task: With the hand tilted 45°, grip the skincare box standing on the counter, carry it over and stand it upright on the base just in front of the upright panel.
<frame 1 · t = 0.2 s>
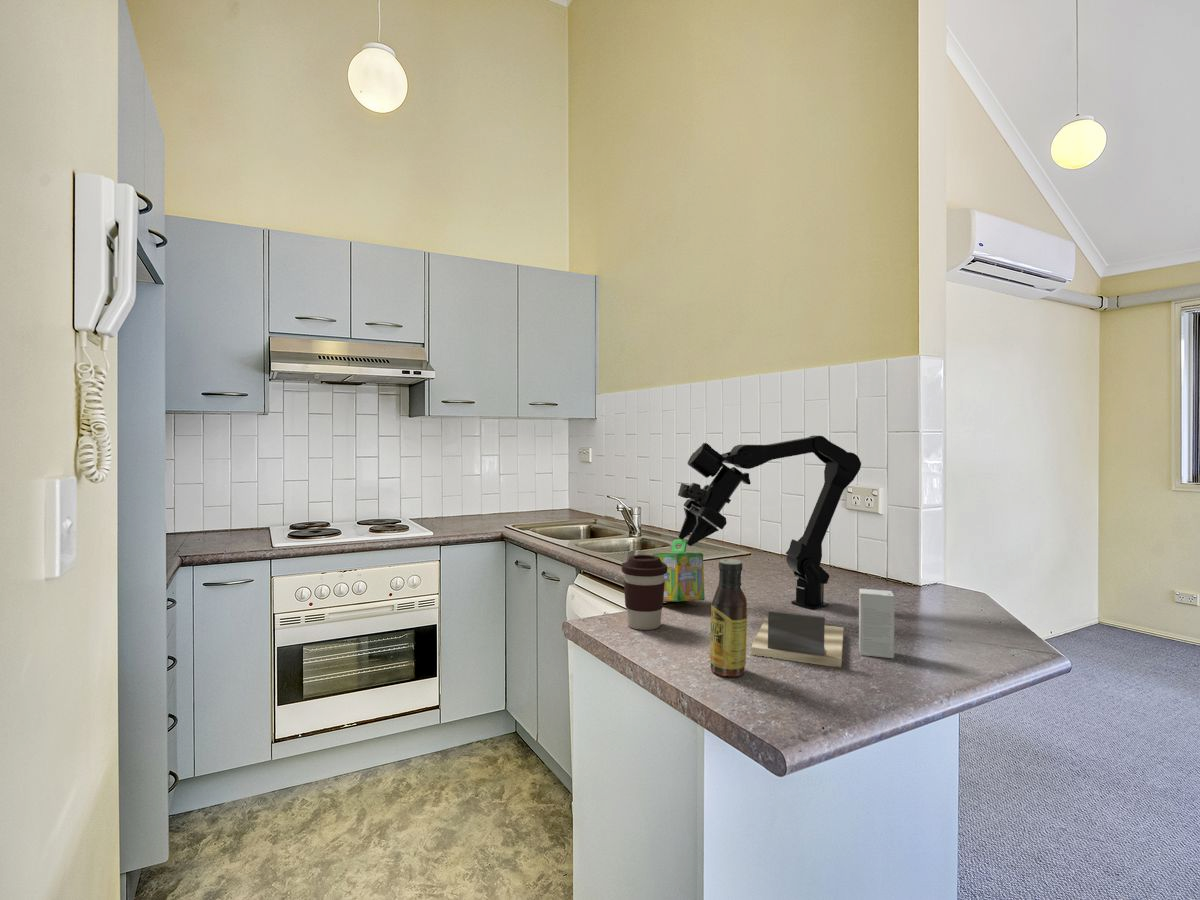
hand: (684, 541, 149), 16 cm above the worktop, tool tilted 35°, fingers open, 8 cm apart
chalk box: (679, 601, 150), point 1 cm above the worktop, touching gripper
sauce bottle: (727, 673, 108), on the worktop
coffee cup: (643, 626, 135), on the worktop
skincare box: (875, 654, 118), on the worktop
base with upright panel: (798, 647, 121), on the worktop
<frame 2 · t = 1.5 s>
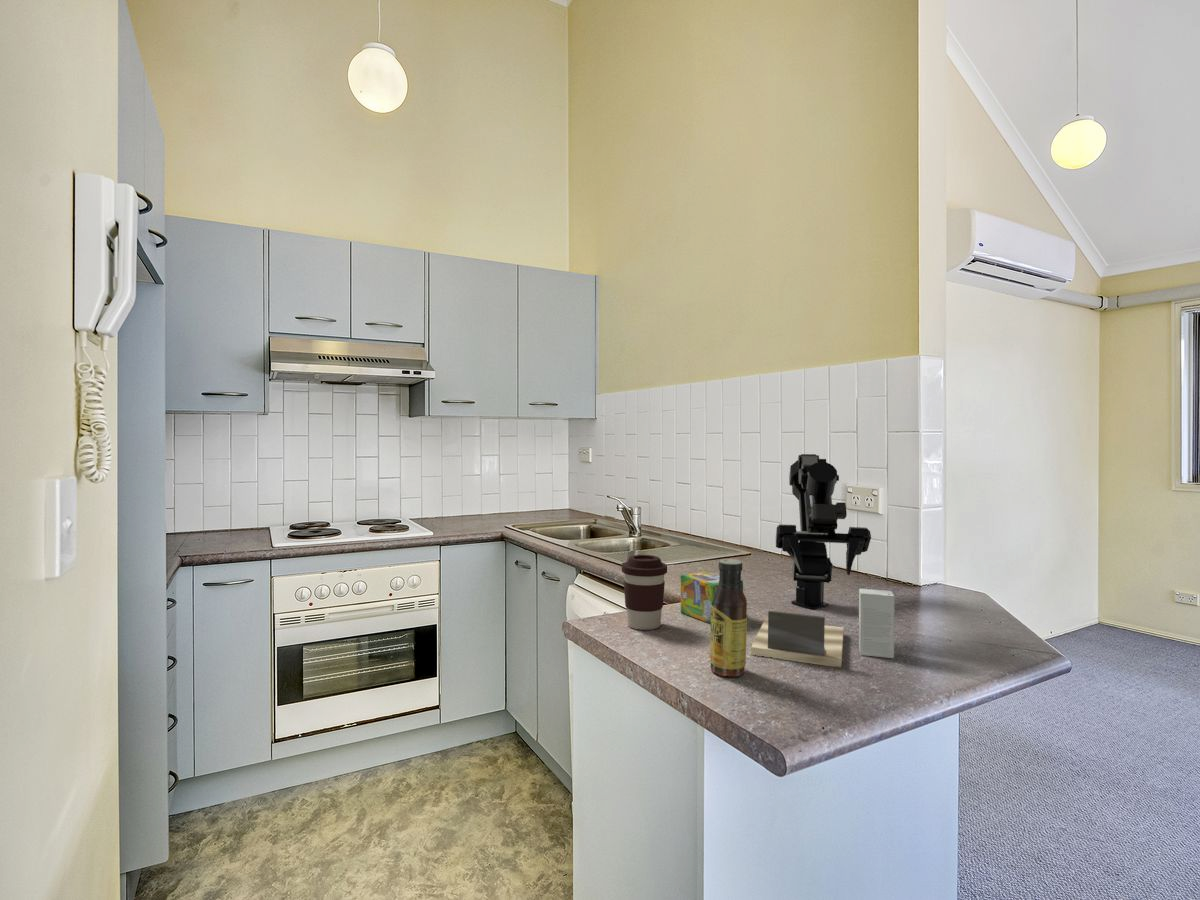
hand: (824, 572, 126), 14 cm above the worktop, tool tilted 45°, fingers open, 9 cm apart
chalk box: (693, 591, 147), point 4 cm above the worktop
everything else where it was.
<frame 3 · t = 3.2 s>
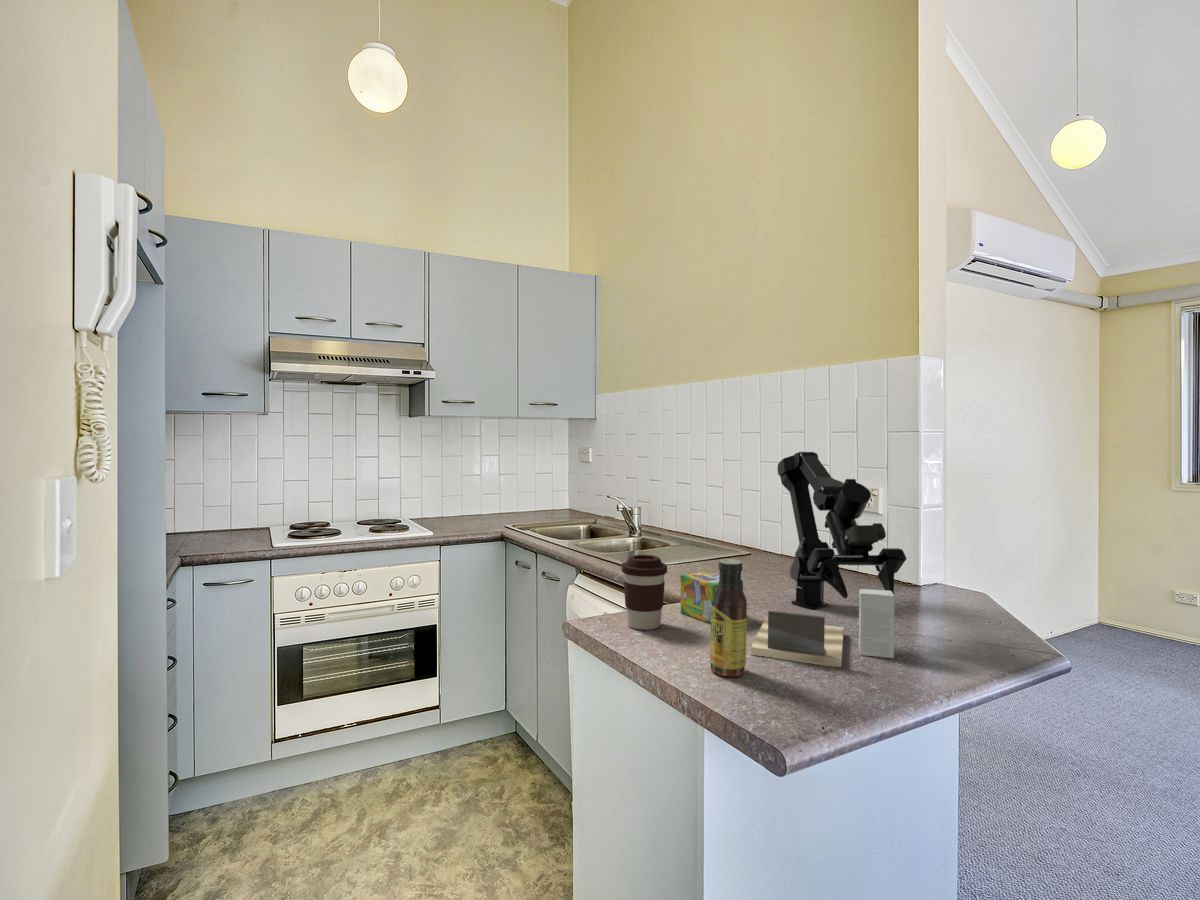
hand: (869, 597, 121), 10 cm above the worktop, tool tilted 45°, fingers open, 9 cm apart
nothing on the worktop moved.
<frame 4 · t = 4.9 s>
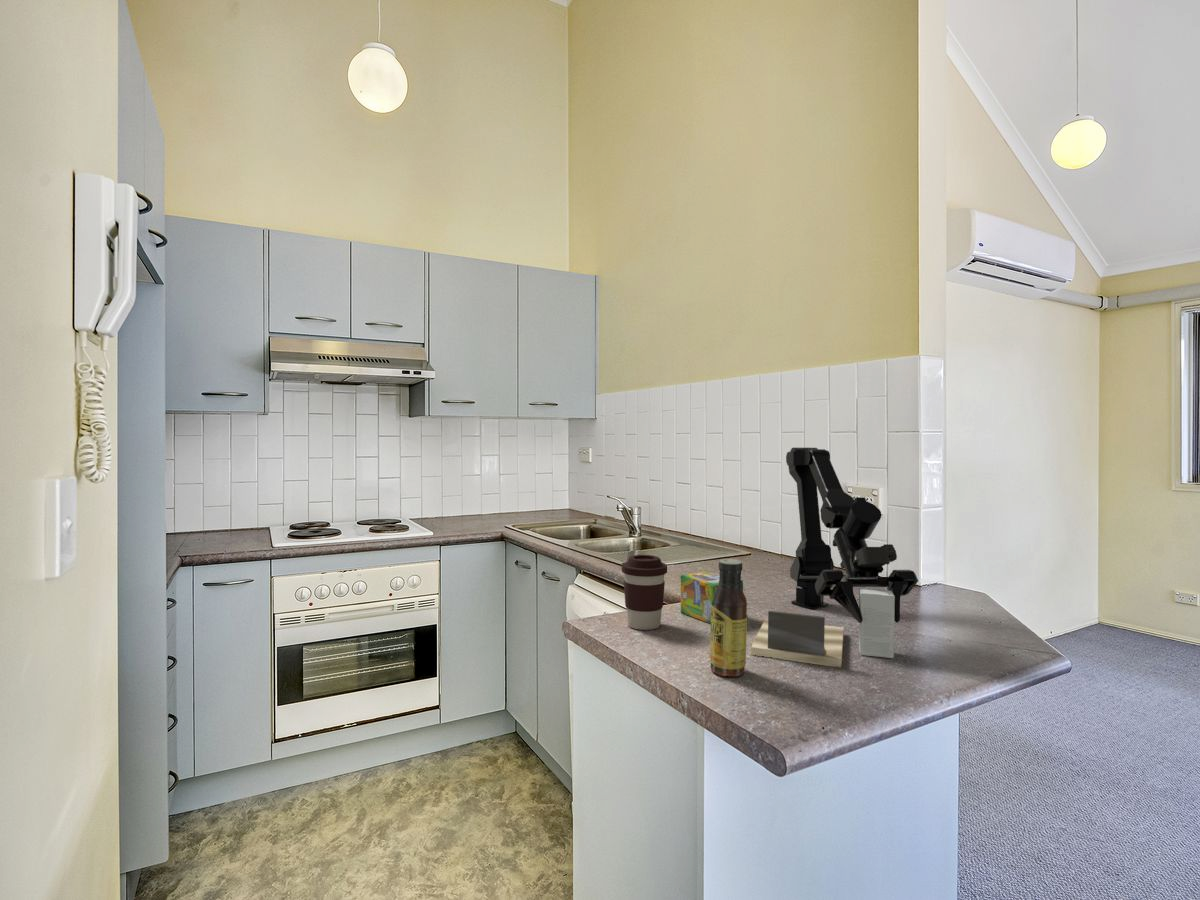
hand: (879, 621, 117), 7 cm above the worktop, tool tilted 45°, fingers closed on skincare box, 7 cm apart
skincare box: (875, 654, 118), on the worktop, touching gripper
everything else where it was.
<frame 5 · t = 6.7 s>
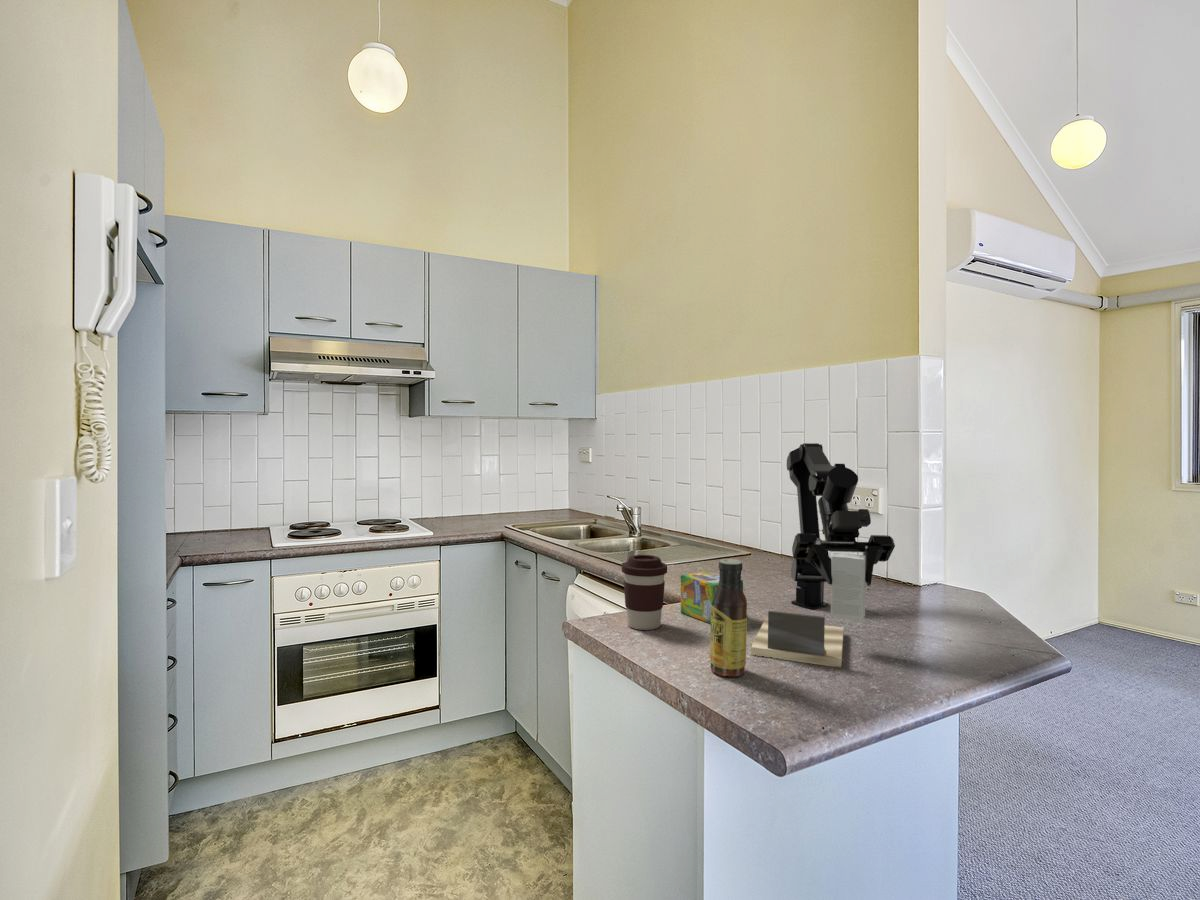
hand: (850, 584, 118), 13 cm above the worktop, tool tilted 45°, fingers closed on skincare box, 7 cm apart
skincare box: (847, 617, 120), point 6 cm above the worktop, touching gripper
everything else where it was.
when the fingers open (9 cm above the worktop, at t = 8.8 s): skincare box stays where it is, resting on base with upright panel.
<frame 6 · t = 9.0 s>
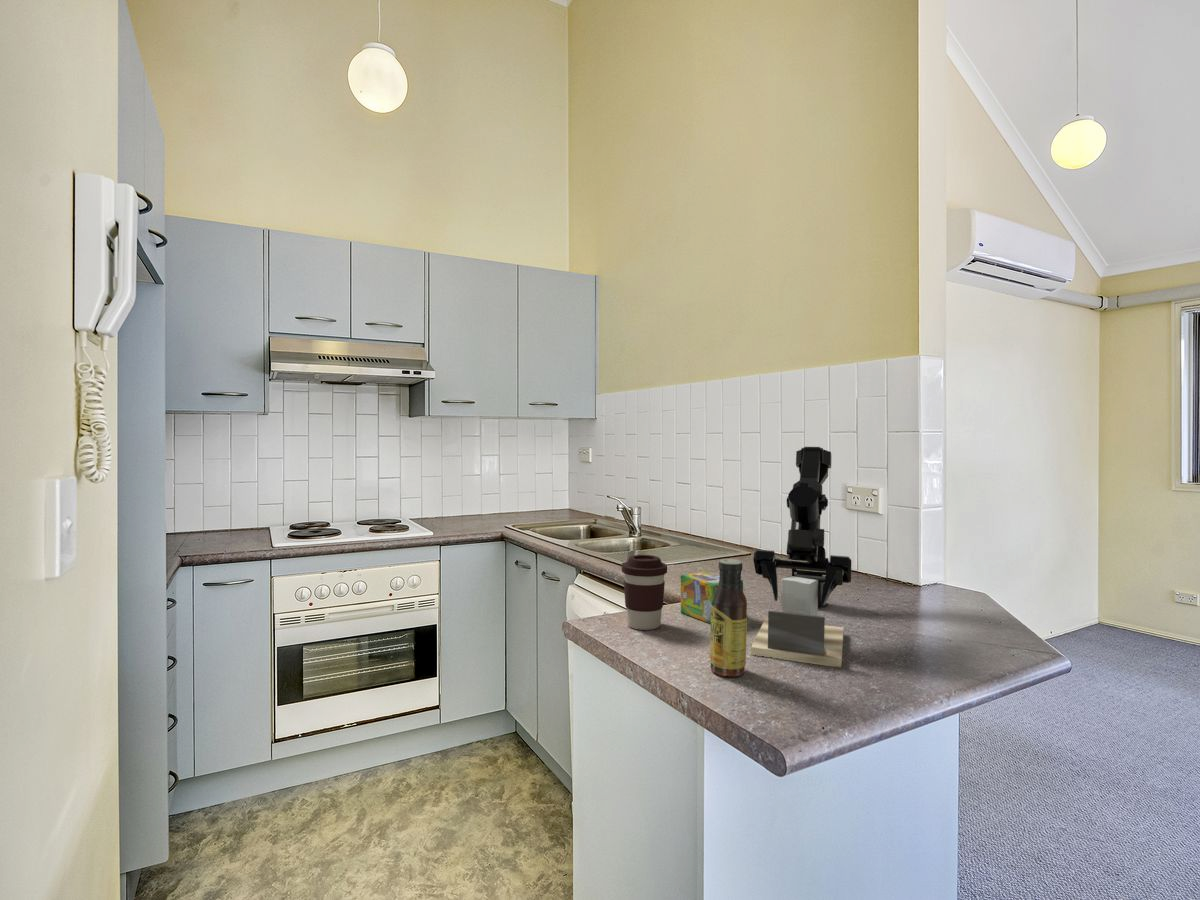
hand: (798, 602, 120), 9 cm above the worktop, tool tilted 45°, fingers open, 8 cm apart
skincare box: (798, 640, 122), point 1 cm above the worktop, touching base with upright panel
everything else where it was.
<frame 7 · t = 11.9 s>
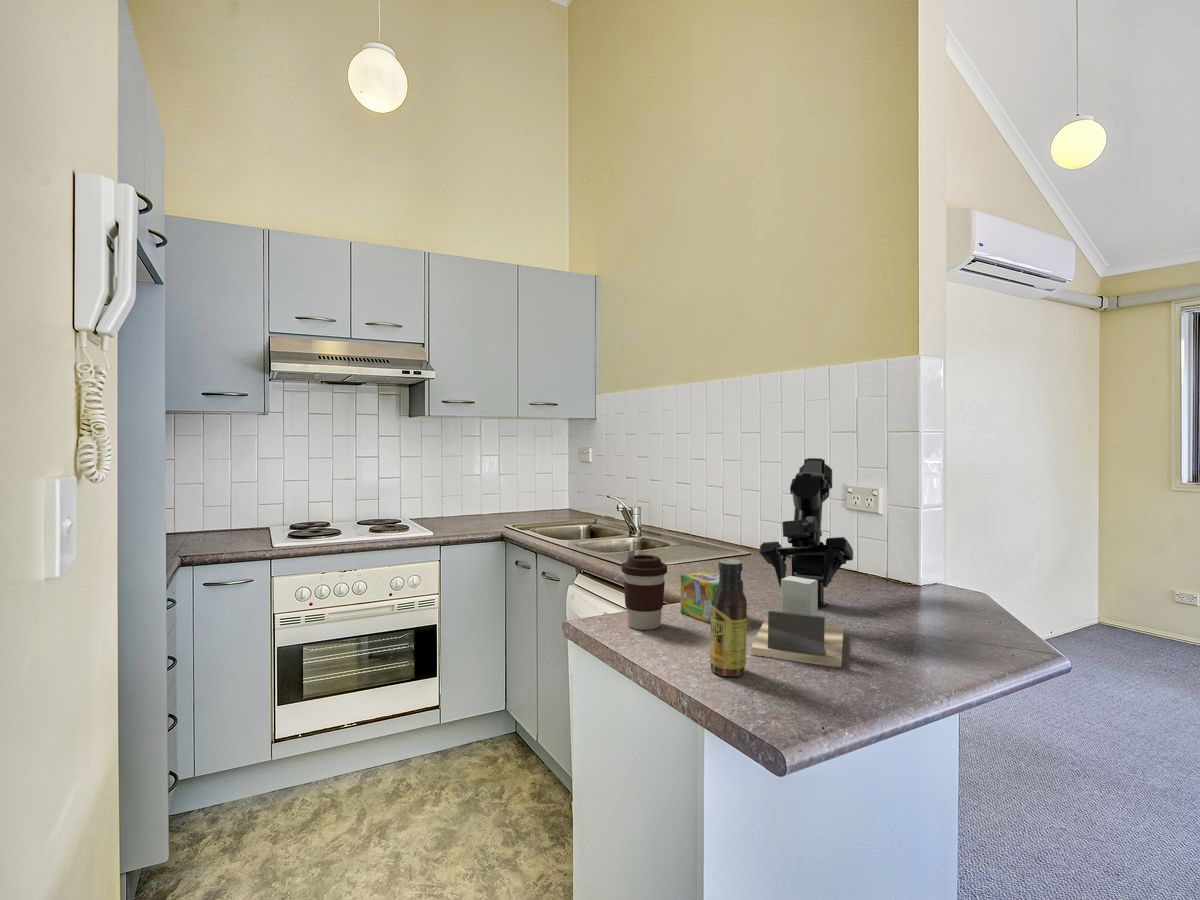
hand: (802, 587, 129), 10 cm above the worktop, tool tilted 40°, fingers open, 9 cm apart
nothing on the worktop moved.
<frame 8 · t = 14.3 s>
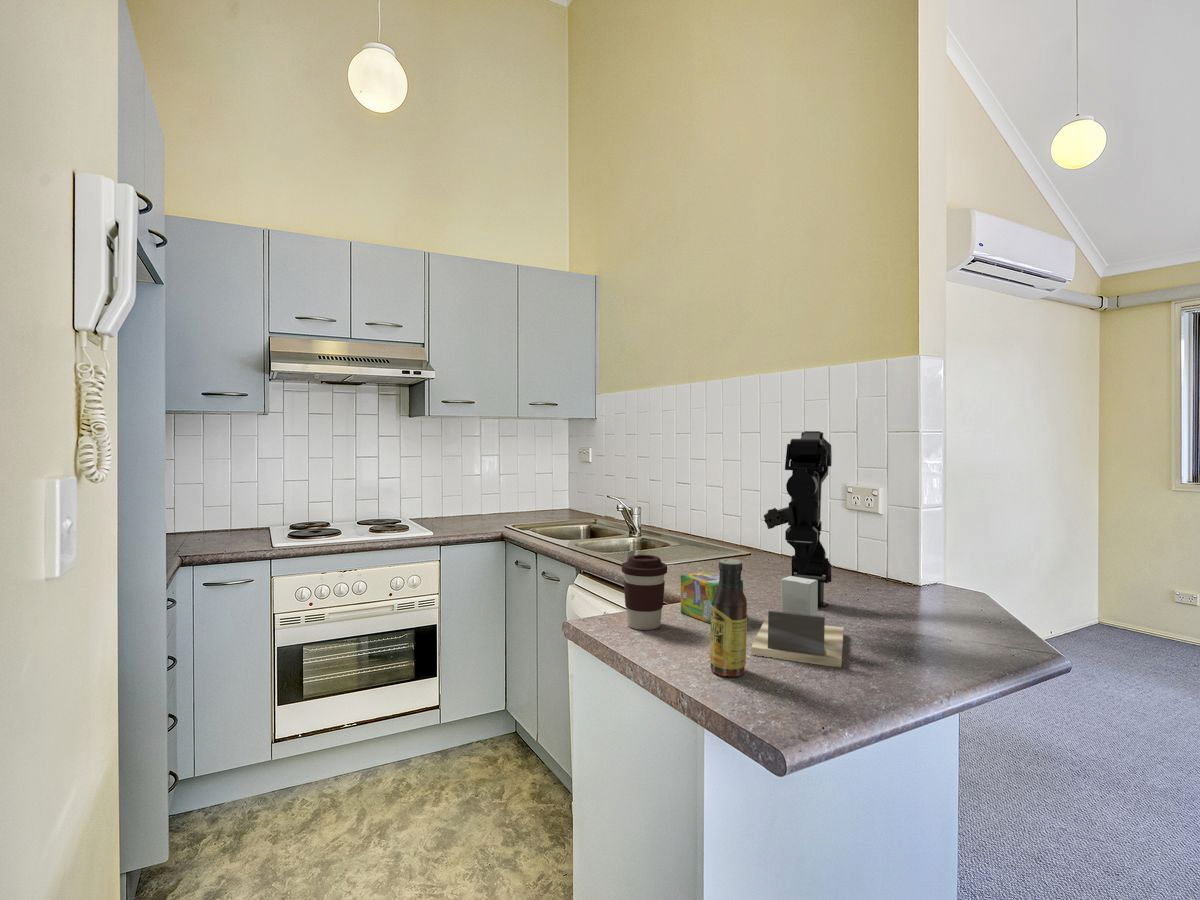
hand: (803, 568, 134), 13 cm above the worktop, tool pointing down, fingers open, 9 cm apart
nothing on the worktop moved.
at the end: skincare box inside the target area on the base with upright panel (0.1 cm from its centre), point 1.3 cm above the base with upright panel's base; skincare box tilted 0°; the gripper is holding nothing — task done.
